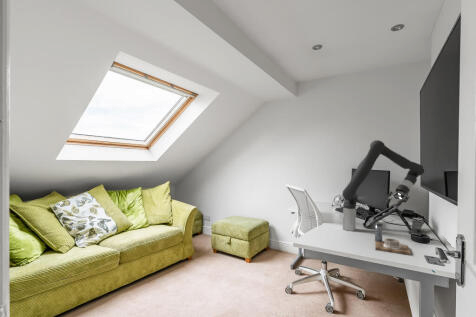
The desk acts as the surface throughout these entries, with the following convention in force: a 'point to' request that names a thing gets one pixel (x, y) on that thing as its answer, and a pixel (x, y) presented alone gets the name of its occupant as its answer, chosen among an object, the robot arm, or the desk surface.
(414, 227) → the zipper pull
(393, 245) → the cup bracket
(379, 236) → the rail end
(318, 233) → the desk surface
